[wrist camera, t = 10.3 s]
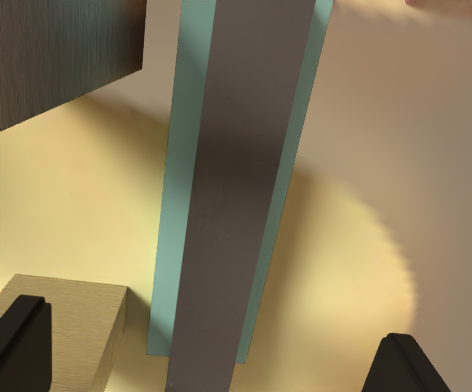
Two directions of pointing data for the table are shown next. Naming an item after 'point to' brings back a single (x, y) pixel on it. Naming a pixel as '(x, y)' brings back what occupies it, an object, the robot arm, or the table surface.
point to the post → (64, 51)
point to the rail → (234, 181)
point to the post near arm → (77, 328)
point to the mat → (183, 161)
